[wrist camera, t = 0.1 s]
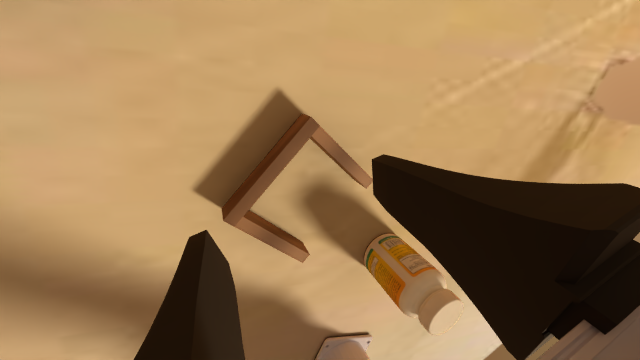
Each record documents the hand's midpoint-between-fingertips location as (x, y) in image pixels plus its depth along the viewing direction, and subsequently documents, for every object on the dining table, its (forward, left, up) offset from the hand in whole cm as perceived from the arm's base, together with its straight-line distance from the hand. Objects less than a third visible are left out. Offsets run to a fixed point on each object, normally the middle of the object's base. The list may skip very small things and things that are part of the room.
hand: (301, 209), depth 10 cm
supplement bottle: (-7, -18, -11) cm, 22 cm away
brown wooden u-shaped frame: (-2, -5, -11) cm, 12 cm away
